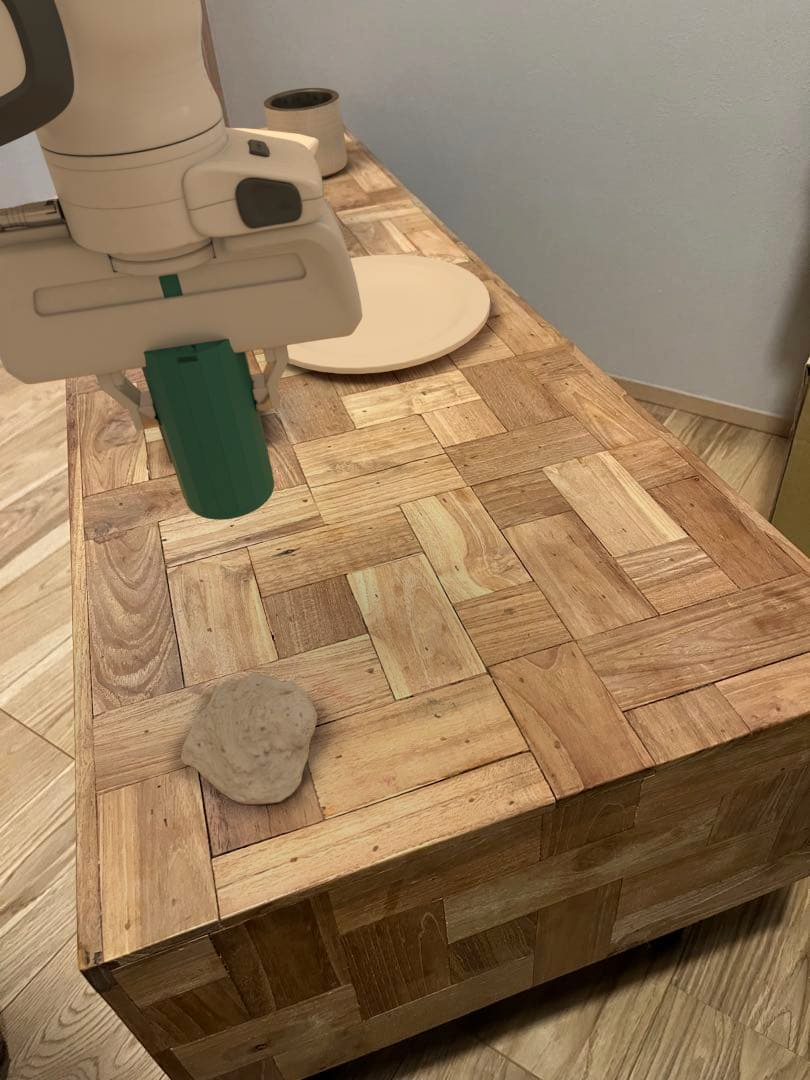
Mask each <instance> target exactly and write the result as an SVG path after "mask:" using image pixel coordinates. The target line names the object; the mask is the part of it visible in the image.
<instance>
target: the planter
mask: <svg viewBox="0 0 810 1080" xmlns="http://www.w3.org/2000/svg"><path fill="white" fill-rule="evenodd" d="M263 109H264V115H265V121H266V128H267V130H268V131H277V132H286V133H295V134H301V135H305V136H309V137H313V138H316V139H317V140H318V142H319V144H318V147H317V150H316V153H315V155H314V158H315V160H316V162H317V164H318V167H319V169H320V172H321V176H322V179H326V178H328V177H332V176H334V175H336V174H338V173H340V172H341V171H342V170H343V169H344V168H345V167H346V166H347V164H348V153H347V145H346V137H345V130H344V123H343V116H342V106H341V100H340V94H339V92H338V91H336V90H334V89H330V88H325V87H303V88H302V87H301V88H295V89H289V90H284V91H281V92H279V93H275V94H273V95H270V96H269V97H267V98H266V99H265V100H264V101H263Z"/></svg>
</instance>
